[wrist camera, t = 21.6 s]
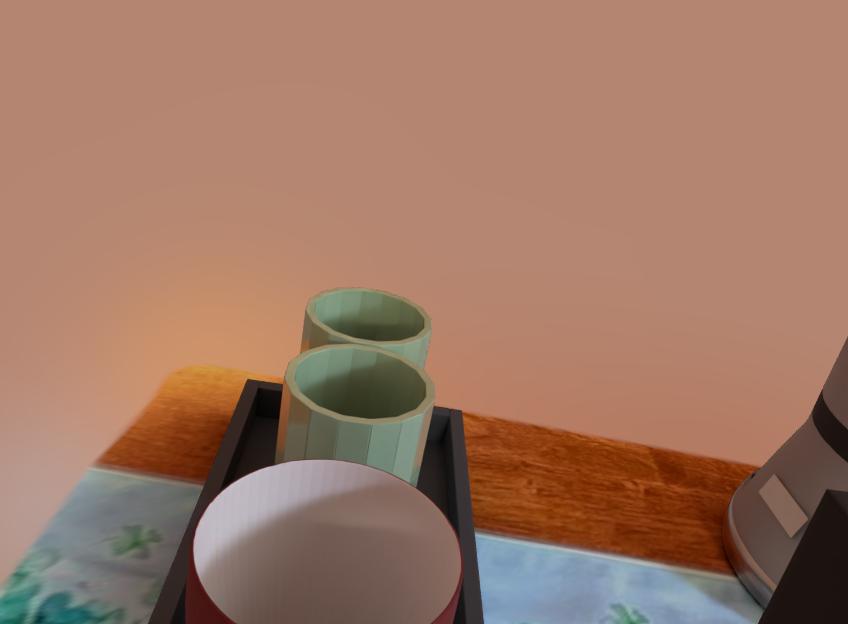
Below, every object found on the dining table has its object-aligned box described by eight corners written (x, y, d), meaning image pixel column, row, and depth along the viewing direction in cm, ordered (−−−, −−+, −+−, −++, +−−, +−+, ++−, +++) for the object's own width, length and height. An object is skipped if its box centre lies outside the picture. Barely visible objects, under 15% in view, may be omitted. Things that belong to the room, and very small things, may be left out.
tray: (454, 444, 46) (462, 409, 45) (492, 922, 23) (511, 874, 22) (244, 415, 45) (247, 378, 44) (65, 885, 22) (62, 833, 21)
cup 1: (401, 446, 45) (430, 298, 41) (399, 517, 39) (433, 353, 35) (296, 431, 44) (314, 279, 40) (278, 501, 38) (298, 333, 34)
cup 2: (399, 520, 39) (433, 355, 35) (396, 617, 33) (437, 433, 29) (277, 503, 38) (297, 334, 34) (253, 600, 32) (273, 410, 28)
